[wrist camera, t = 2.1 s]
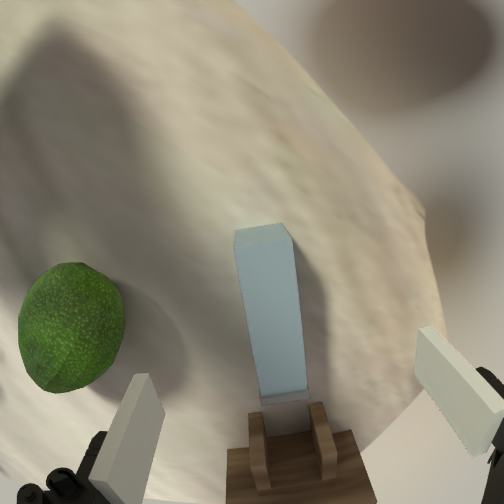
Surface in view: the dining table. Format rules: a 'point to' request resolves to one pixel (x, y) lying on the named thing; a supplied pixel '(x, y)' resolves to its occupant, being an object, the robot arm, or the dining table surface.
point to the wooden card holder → (298, 466)
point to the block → (272, 311)
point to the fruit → (70, 327)
